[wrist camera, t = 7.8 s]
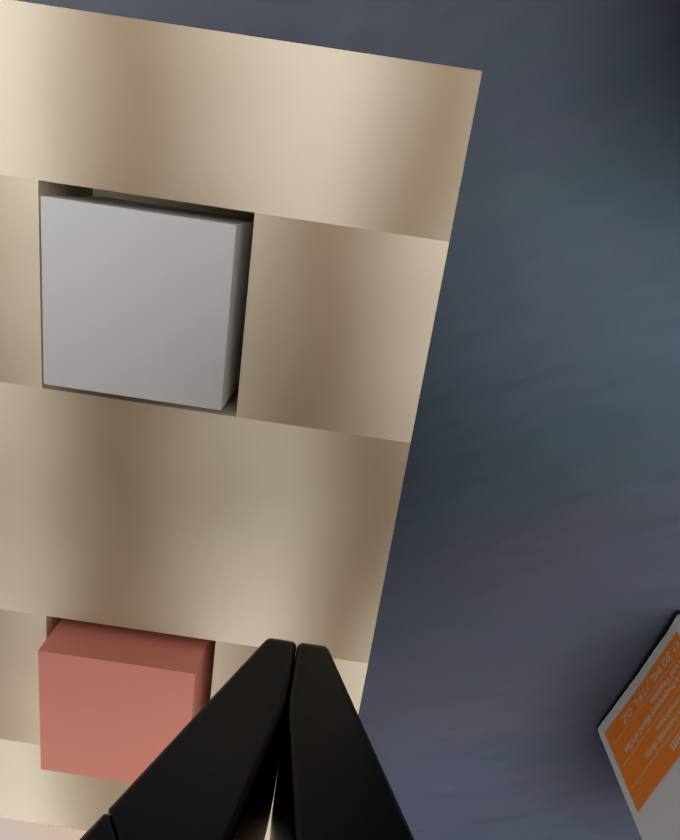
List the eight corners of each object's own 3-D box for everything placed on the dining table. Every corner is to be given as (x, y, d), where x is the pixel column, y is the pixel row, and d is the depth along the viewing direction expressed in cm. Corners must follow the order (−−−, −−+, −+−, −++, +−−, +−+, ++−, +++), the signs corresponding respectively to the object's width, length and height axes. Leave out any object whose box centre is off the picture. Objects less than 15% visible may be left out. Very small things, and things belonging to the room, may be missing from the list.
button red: (223, 598, 21) (195, 674, 17) (213, 703, 22) (185, 790, 19) (90, 578, 21) (38, 650, 17) (90, 684, 22) (40, 769, 19)
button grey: (261, 220, 17) (236, 225, 14) (247, 373, 19) (220, 410, 15) (103, 196, 17) (40, 195, 14) (101, 351, 19) (43, 383, 15)
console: (457, 100, 17) (482, 71, 13) (335, 765, 25) (329, 866, 21) (-56, 22, 17) (-178, -29, 13) (-15, 714, 25) (-83, 805, 21)
